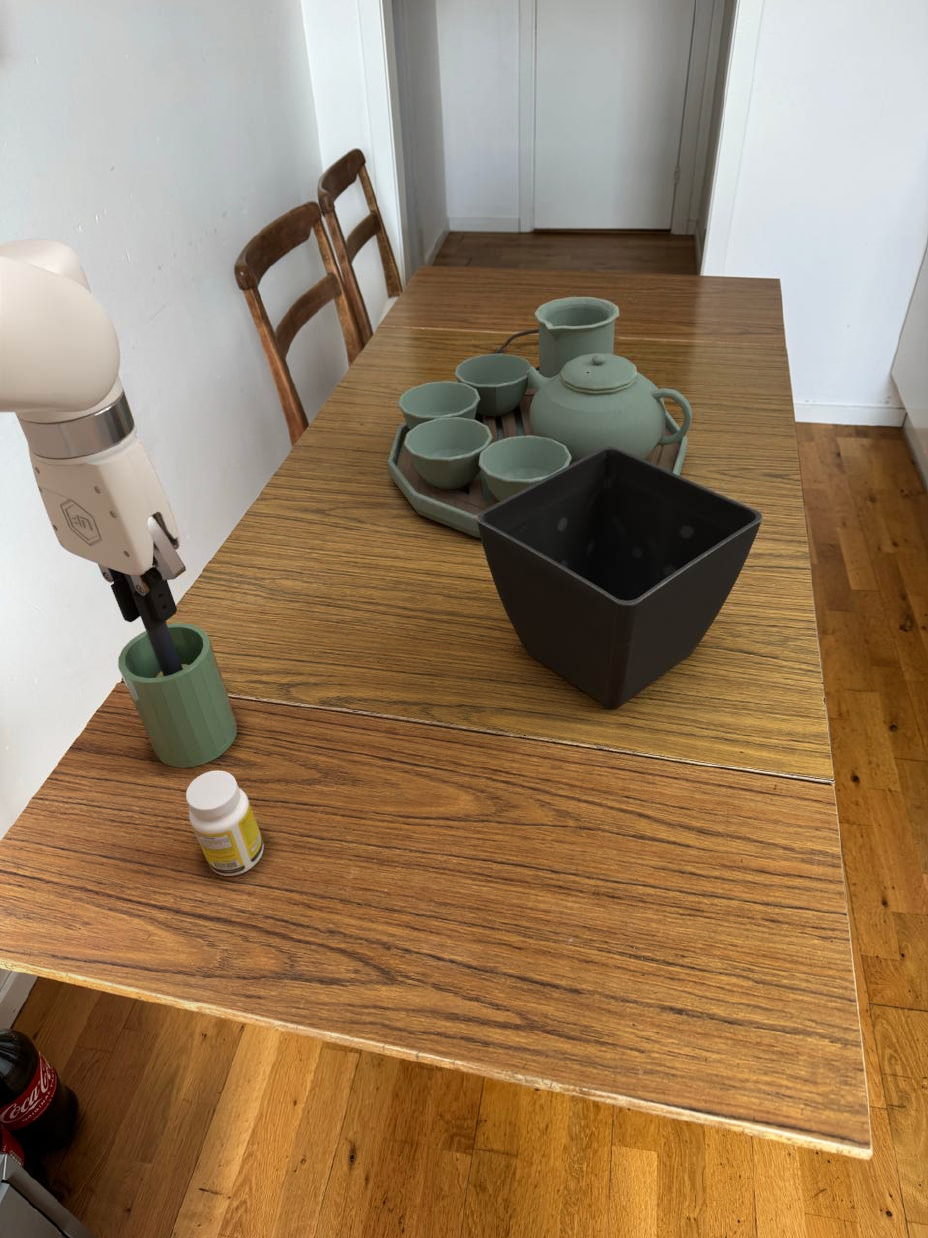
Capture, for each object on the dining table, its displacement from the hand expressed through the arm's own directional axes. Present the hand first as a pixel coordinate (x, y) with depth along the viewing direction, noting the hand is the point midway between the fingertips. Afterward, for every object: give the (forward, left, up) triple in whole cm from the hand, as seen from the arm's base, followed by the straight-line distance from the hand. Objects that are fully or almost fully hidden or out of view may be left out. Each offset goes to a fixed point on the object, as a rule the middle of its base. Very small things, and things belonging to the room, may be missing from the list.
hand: (151, 615), depth 77 cm
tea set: (+49, -35, -15) cm, 62 cm away
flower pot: (+10, -41, -15) cm, 45 cm away
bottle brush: (0, 0, -14) cm, 14 cm away
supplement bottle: (-14, -7, -15) cm, 22 cm away
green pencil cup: (0, 0, -15) cm, 15 cm away
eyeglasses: (+83, -38, -15) cm, 93 cm away
